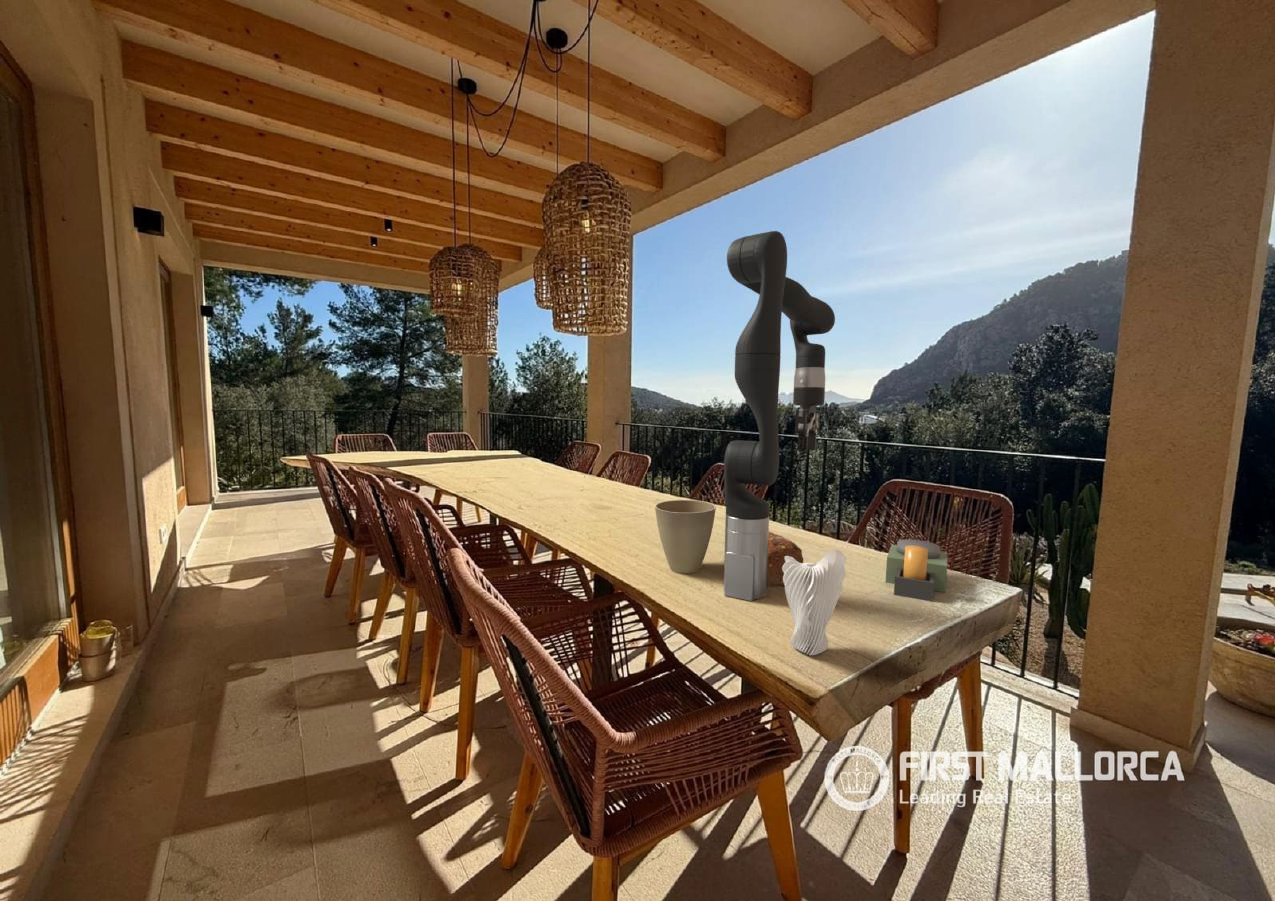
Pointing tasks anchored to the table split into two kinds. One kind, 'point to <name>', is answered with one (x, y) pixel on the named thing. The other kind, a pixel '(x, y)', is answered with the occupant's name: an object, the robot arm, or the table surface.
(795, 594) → the white ribbed vase
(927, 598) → the green two-tone box
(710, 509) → the plant pot
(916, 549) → the amber pillar candle
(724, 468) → the robot arm
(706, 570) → the table surface
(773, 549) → the bread
